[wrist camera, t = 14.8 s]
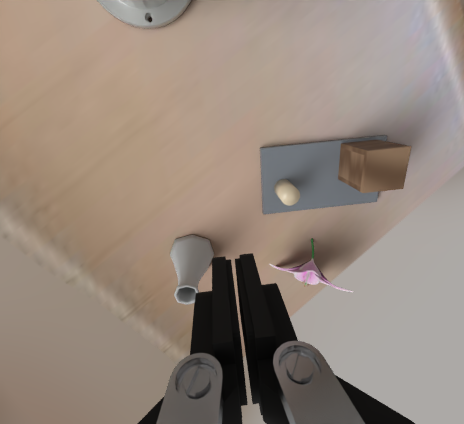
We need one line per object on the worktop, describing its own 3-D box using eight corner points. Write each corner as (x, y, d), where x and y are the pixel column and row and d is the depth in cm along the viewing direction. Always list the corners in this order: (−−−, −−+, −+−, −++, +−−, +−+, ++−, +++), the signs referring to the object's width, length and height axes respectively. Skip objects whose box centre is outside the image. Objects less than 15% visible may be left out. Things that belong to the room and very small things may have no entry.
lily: (257, 234, 42) (257, 290, 36) (327, 212, 36) (340, 274, 30) (288, 263, 49) (292, 313, 43) (351, 249, 43) (365, 305, 37)
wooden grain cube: (340, 143, 35) (368, 151, 29) (376, 139, 35) (411, 146, 29) (337, 179, 37) (362, 193, 31) (371, 175, 37) (403, 188, 31)
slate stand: (260, 147, 35) (266, 153, 31) (383, 135, 36) (407, 139, 31) (262, 212, 39) (269, 225, 35) (373, 199, 40) (394, 211, 35)
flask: (214, 234, 40) (216, 272, 31) (213, 271, 43) (214, 316, 34) (169, 233, 39) (156, 271, 30) (170, 271, 42) (159, 316, 33)
